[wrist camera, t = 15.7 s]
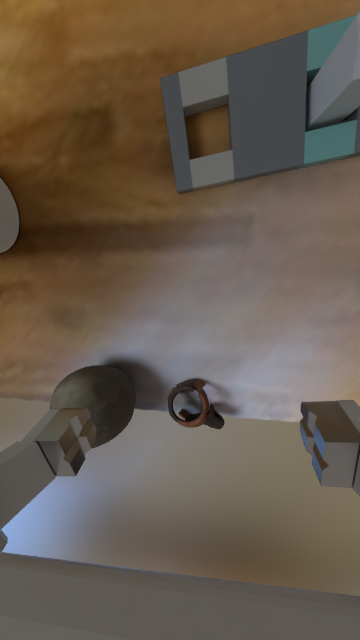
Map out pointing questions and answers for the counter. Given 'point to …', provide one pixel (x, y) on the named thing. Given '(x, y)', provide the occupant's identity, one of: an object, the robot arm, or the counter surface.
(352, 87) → the plug
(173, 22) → the counter surface
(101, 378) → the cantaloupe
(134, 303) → the counter surface
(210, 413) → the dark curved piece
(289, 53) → the panel
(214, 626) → the robot arm
